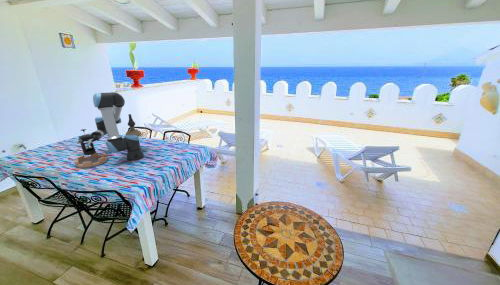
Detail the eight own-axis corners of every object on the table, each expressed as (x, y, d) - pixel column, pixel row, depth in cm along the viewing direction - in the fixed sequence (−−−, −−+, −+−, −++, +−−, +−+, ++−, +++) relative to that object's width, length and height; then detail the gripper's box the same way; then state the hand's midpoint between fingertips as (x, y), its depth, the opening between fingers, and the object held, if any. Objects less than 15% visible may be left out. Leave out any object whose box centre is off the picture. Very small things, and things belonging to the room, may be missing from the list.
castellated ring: (113, 158, 200) (111, 153, 198) (93, 169, 178) (91, 163, 176) (91, 156, 203) (90, 151, 201) (69, 167, 181) (67, 161, 179)
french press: (88, 151, 192) (82, 127, 185) (98, 150, 193) (92, 127, 185) (79, 156, 181) (72, 131, 174) (90, 155, 182) (83, 131, 174)
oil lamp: (125, 152, 214) (117, 115, 201) (135, 147, 228) (128, 112, 214) (137, 153, 212) (130, 116, 198) (147, 148, 226) (141, 113, 212)
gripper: (109, 138, 203) (97, 145, 181) (86, 138, 199) (70, 146, 178) (108, 130, 200) (95, 138, 179) (84, 131, 197) (68, 138, 176)
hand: (83, 142), depth 179 cm, fingers closed on french press, 9 cm apart
